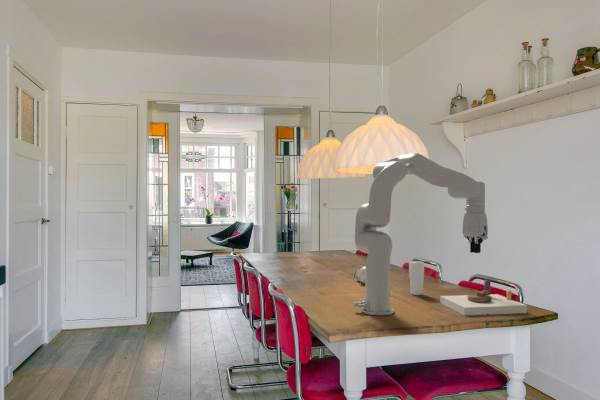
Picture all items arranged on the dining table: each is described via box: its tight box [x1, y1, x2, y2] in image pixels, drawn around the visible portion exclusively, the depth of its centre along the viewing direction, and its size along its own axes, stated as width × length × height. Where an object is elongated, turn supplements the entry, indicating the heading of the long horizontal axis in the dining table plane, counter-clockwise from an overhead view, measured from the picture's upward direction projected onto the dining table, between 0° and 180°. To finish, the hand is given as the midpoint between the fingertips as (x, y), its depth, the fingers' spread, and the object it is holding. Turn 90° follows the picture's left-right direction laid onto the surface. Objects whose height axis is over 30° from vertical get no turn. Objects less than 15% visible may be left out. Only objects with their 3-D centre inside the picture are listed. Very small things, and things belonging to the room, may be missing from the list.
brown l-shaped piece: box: [467, 279, 492, 302], centre depth 184 cm, size 15×9×7 cm, turn 138°
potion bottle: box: [353, 265, 365, 285], centre depth 234 cm, size 9×10×15 cm
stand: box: [439, 290, 528, 316], centre depth 182 cm, size 26×20×6 cm
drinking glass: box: [408, 260, 425, 296], centre depth 207 cm, size 7×7×15 cm
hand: (475, 252), depth 193 cm, fingers closed
